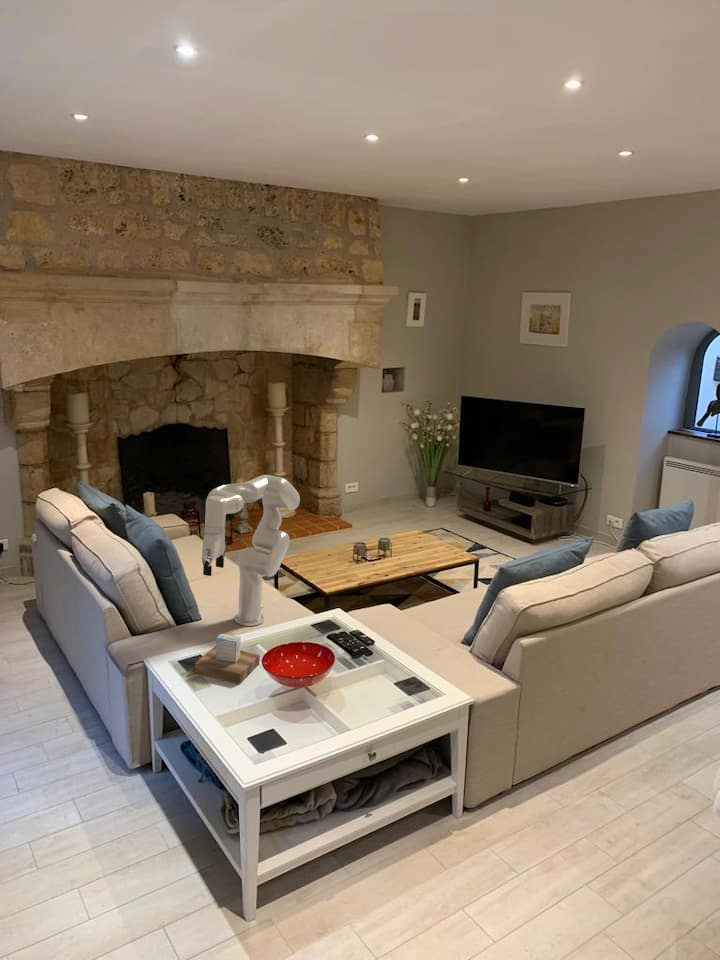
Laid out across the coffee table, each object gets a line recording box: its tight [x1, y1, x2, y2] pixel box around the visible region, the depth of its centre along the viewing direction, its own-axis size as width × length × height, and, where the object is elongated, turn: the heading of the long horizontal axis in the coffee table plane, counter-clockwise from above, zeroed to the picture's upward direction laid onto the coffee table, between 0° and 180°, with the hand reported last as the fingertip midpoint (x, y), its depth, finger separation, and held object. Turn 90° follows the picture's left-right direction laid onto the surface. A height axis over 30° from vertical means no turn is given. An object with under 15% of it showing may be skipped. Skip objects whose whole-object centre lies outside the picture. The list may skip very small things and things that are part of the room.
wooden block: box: [194, 644, 260, 685], centre depth 266 cm, size 16×18×4 cm
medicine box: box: [215, 633, 241, 663], centre depth 265 cm, size 8×4×9 cm, turn 79°
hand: (213, 571), depth 278 cm, fingers open, 9 cm apart
